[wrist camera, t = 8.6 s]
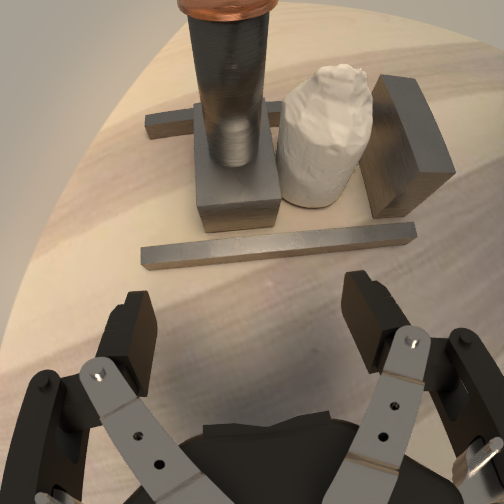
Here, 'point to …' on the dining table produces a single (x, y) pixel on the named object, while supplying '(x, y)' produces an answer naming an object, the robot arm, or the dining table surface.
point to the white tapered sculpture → (323, 135)
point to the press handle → (232, 114)
